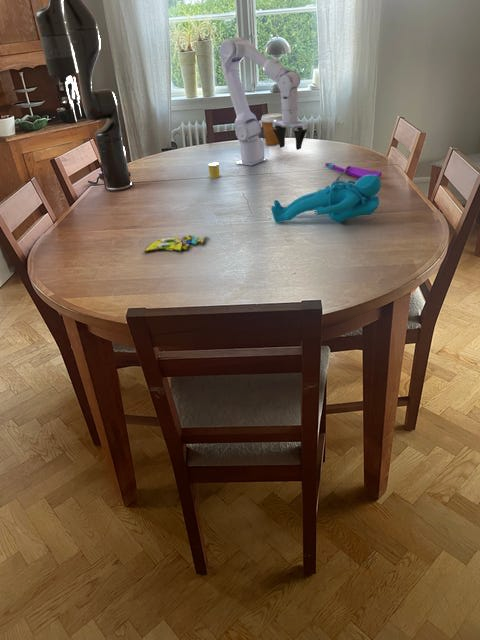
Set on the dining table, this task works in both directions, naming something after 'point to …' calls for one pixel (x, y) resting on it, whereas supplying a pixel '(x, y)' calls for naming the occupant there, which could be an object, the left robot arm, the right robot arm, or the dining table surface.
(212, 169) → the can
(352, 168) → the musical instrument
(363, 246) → the dining table surface
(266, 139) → the disposable coffee cup
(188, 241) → the toy
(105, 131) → the left robot arm
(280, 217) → the toy
